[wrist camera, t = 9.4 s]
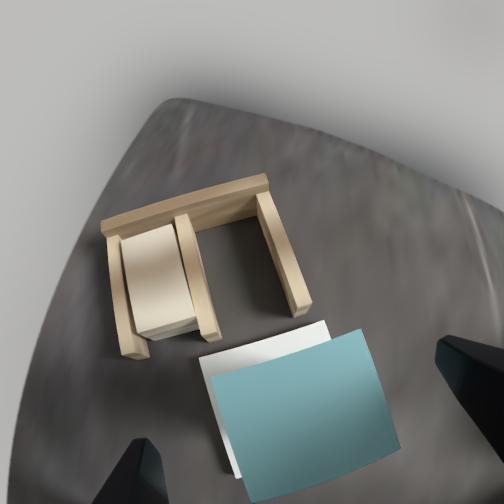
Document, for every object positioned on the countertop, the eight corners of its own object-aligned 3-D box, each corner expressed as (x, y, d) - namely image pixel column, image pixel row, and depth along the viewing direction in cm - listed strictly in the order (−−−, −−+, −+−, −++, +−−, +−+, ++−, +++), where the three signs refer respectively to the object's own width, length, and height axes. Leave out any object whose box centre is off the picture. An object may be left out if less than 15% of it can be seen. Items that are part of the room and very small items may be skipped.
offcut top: (200, 322, 21) (195, 315, 19) (147, 338, 20) (137, 333, 19) (177, 236, 24) (171, 223, 22) (130, 252, 23) (120, 240, 21)
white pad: (360, 435, 18) (364, 437, 17) (237, 475, 17) (236, 478, 17) (321, 322, 22) (324, 319, 21) (201, 359, 21) (198, 357, 20)
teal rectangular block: (323, 417, 18) (400, 448, 7) (258, 438, 18) (251, 503, 6) (305, 364, 20) (360, 328, 9) (240, 384, 19) (210, 377, 8)
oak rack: (306, 313, 22) (314, 298, 19) (138, 360, 21) (115, 352, 18) (264, 202, 26) (264, 173, 23) (120, 244, 25) (100, 221, 22)
